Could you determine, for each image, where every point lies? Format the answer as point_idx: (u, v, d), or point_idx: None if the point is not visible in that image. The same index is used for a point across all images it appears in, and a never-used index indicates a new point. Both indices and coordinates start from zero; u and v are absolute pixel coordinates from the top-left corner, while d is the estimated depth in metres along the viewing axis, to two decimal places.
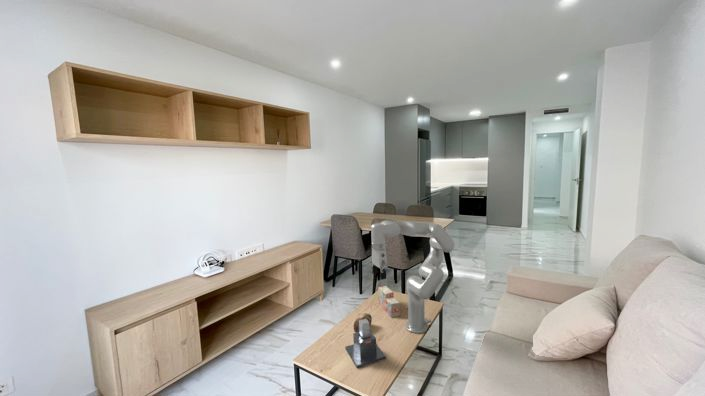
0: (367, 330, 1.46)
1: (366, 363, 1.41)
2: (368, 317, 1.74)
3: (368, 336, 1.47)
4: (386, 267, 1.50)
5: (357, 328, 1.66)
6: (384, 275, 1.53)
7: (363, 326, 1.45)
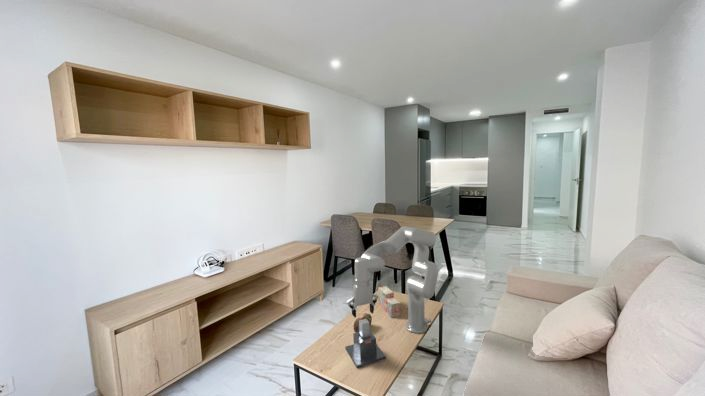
0: (367, 330, 1.46)
1: (366, 363, 1.41)
2: (368, 317, 1.74)
3: (368, 336, 1.47)
4: (377, 297, 1.49)
5: (357, 328, 1.66)
6: None
7: (363, 326, 1.45)
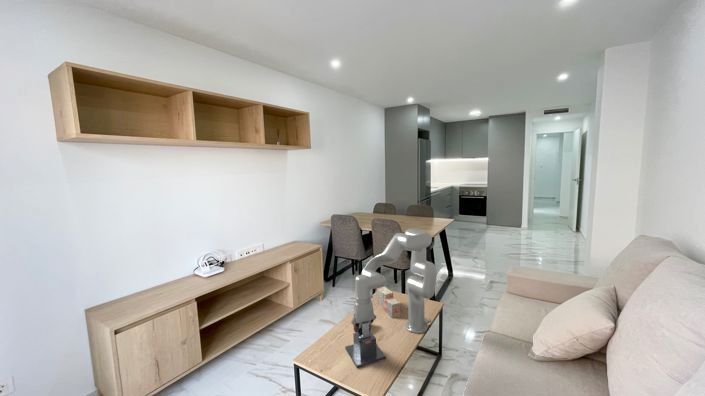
0: (367, 330, 1.46)
1: (366, 363, 1.41)
2: None
3: (368, 336, 1.47)
4: None
5: (357, 328, 1.66)
6: None
7: (363, 326, 1.45)
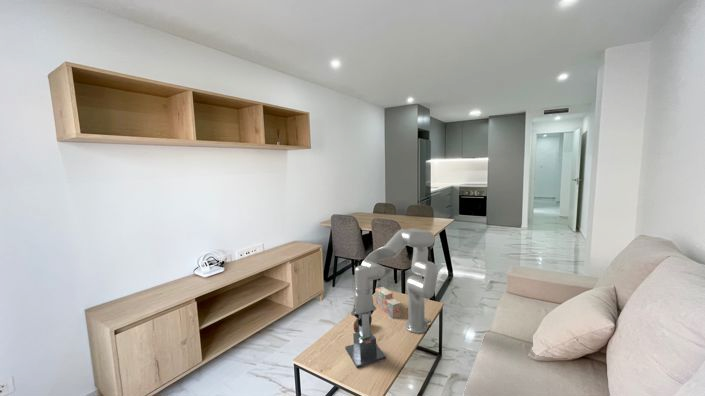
0: (367, 321, 1.46)
1: (366, 363, 1.41)
2: None
3: (368, 327, 1.46)
4: None
5: (357, 328, 1.66)
6: None
7: (363, 317, 1.45)
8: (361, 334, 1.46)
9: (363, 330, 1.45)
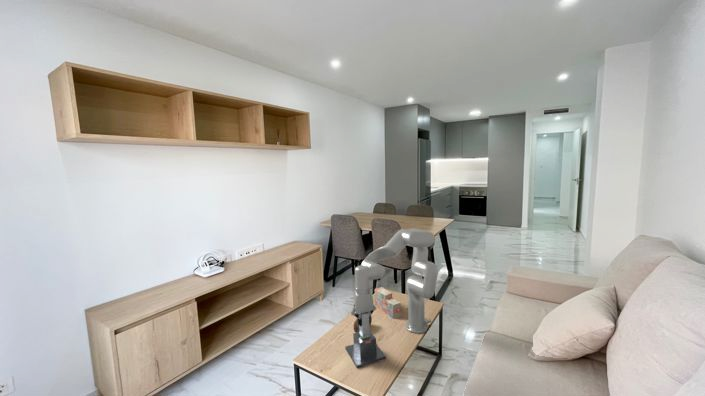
0: (367, 321, 1.46)
1: (366, 363, 1.41)
2: None
3: (368, 327, 1.46)
4: None
5: (357, 328, 1.66)
6: None
7: (363, 317, 1.45)
8: (361, 334, 1.46)
9: (363, 330, 1.45)
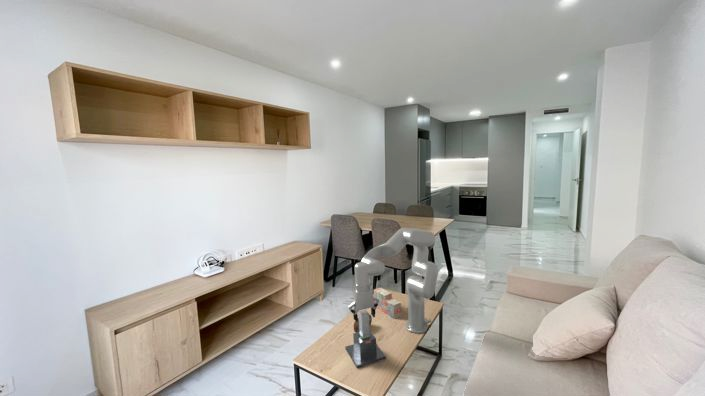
0: (367, 321, 1.46)
1: (366, 363, 1.41)
2: None
3: (368, 327, 1.46)
4: (378, 300, 1.50)
5: (357, 328, 1.66)
6: None
7: (363, 317, 1.45)
8: (361, 334, 1.46)
9: (363, 330, 1.45)
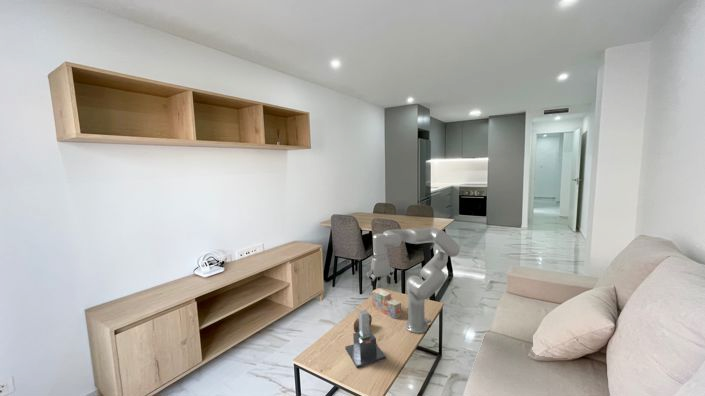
0: (367, 321, 1.46)
1: (366, 363, 1.41)
2: None
3: (368, 327, 1.46)
4: (393, 269, 1.64)
5: (357, 328, 1.66)
6: None
7: (363, 317, 1.45)
8: (361, 334, 1.46)
9: (363, 330, 1.45)
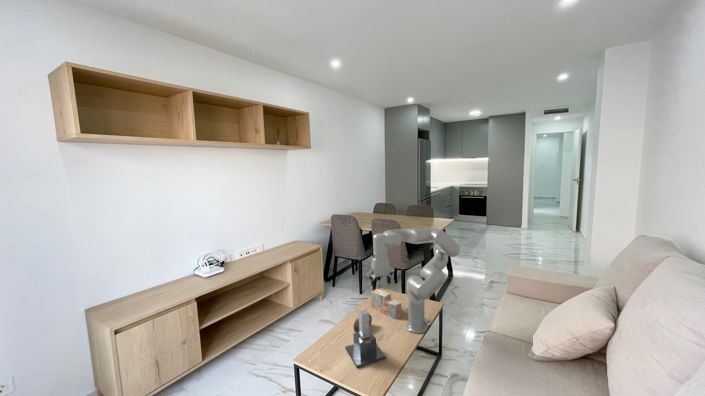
0: (367, 321, 1.46)
1: (366, 363, 1.41)
2: None
3: (368, 327, 1.46)
4: (393, 269, 1.64)
5: (357, 328, 1.66)
6: None
7: (363, 317, 1.45)
8: (361, 334, 1.46)
9: (363, 330, 1.45)
